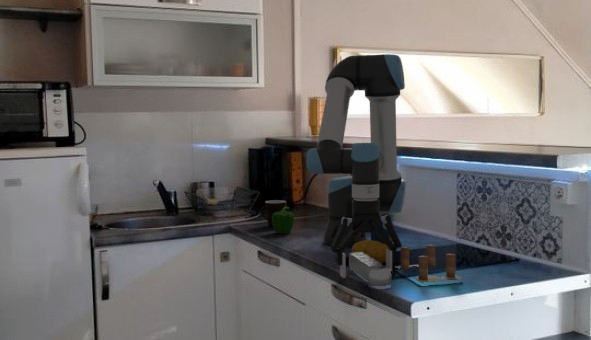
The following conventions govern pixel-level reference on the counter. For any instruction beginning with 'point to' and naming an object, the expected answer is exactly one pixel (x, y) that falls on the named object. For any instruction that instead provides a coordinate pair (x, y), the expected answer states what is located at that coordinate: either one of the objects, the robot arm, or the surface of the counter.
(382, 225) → the soda can
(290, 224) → the bell pepper
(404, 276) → the counter surface
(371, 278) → the grey ridged block
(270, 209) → the coffee mug
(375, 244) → the potato
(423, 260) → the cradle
